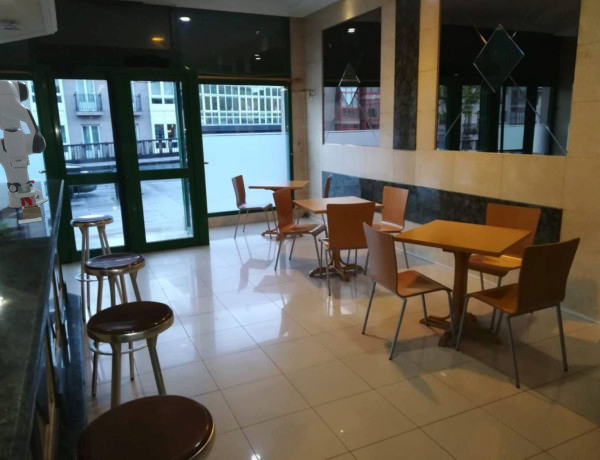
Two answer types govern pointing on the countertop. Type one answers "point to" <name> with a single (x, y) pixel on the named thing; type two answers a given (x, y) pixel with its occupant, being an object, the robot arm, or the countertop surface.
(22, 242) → the countertop surface
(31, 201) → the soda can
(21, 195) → the lid
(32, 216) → the crate
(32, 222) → the mat
